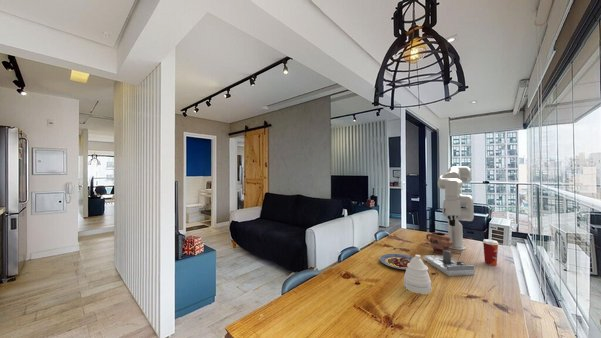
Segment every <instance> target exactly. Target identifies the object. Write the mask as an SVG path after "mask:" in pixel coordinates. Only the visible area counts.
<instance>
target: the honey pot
mask: <svg viewBox="0 0 601 338" xmlns="http://www.w3.org/2000/svg"><path fill="white" fill-rule="evenodd" d="M412 257H413V258H412V260H411V261H410V263H408V264H407V269H405V272H404V273H405V274H404V275H403V287H404V286H405V287H406V288H407V289H408V290H410V291H413V292H416V293H422V294H426V293H430V292H431V293H432V280H431V277H430V274H429V272H428V271H429V267H428V266H427V264H425V263H424V260H422V259H421V258H422V257H421V254H415V256H412ZM405 287H404V288H405ZM407 289H406V290H407ZM408 290H407V291H408ZM410 291H409V292H410ZM431 293H430V294H431ZM426 295H427V294H426Z"/></svg>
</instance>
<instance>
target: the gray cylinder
mask: <svg viewBox="0 0 601 338" xmlns="http://www.w3.org/2000/svg"><path fill="white" fill-rule="evenodd" d="M442 255H443V263H445V264H451V258H452V251H451V250H449V251H448V250H443V254H442Z"/></svg>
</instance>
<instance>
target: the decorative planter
mask: <svg viewBox="0 0 601 338" xmlns="http://www.w3.org/2000/svg"><path fill="white" fill-rule="evenodd" d="M425 236H426V237H425V238H426V240H427V241H428V242H429V243H430V245H431V246H432V249H433V251H434V252H435V253H436V254H440V255H443V250H448V251H450V248H449V247H450V246H452V245H453V243H452V241H451V239H450V237H449V236H448V233H447V234H446V233H443V232H439V231H435V232H432V233H427V234H426V235H425ZM429 237H430V238H429Z"/></svg>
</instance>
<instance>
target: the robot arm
mask: <svg viewBox="0 0 601 338" xmlns="http://www.w3.org/2000/svg"><path fill="white" fill-rule="evenodd" d="M437 180H438V181H437V187H438V189H440V190H444V200H443V201H442V210H441V211H442V215H443V217H444V218H447V235H448V236H449V237H450V239H451V241H452V243H453V245H452V246H450V247H449V249H451V250H457V251H463V250H466V246H465V245H463V244H464V243H463V242H464V239H463V237H464V236H463V235H464V234H463V224H462V223H461V222H460V221H466V222H473V220H474V218H475V214H474V209H475V207H474V198H473V197H472V195H469V194H462V187H463V184H469V183H471V181H472V171H471V169H470V167H469V166H465V165H464V166H457V165H456V166H450V167H449V168H448V169H447V172H446V173H443V174H441V175H440V176H439V177H438V179H437ZM462 207H463V208H462Z"/></svg>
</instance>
